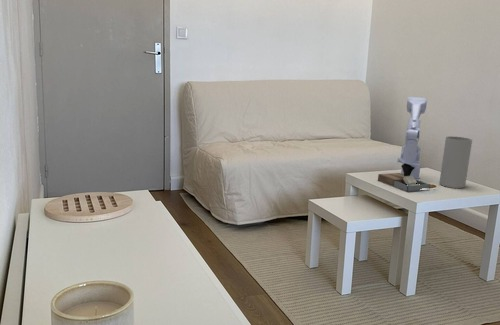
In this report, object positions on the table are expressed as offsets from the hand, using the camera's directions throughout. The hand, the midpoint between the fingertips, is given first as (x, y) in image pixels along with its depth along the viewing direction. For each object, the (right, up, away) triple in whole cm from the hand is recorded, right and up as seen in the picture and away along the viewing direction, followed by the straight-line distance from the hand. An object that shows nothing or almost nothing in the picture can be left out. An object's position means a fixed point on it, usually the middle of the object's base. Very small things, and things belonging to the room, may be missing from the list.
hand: (406, 179), depth 241 cm
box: (+1, -5, -3) cm, 6 cm away
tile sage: (+3, -3, -5) cm, 6 cm away
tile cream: (+1, -1, -1) cm, 2 cm away
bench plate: (-3, -2, +7) cm, 8 cm away
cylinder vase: (+26, -4, +8) cm, 28 cm away
